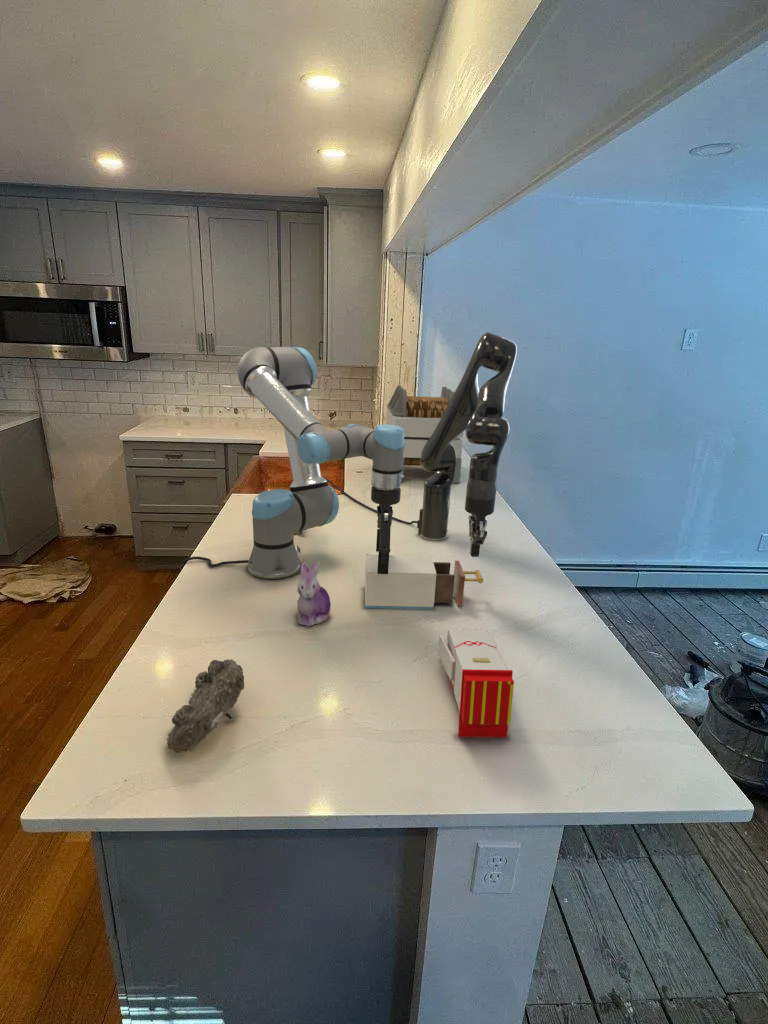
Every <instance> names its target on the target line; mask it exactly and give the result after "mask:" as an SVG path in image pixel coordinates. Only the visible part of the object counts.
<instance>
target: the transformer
mask: <svg viewBox="0 0 768 1024" xmlns="http://www.w3.org/2000/svg"><path fill="white" fill-rule="evenodd" d="M454 392H455V391H453V390H452V389H451V388H447V386H442V387H441V392H440V393H441V394H440V396H415V395H414V396H413V395H412V396H411V395H407V394H408V393H407V390H406V389H404V388H403V387H402V385H399V384H398V385H397V386H396V388H395V390H394V392H393V394H392V395H391V398H390V400H389V402H388V404H387V405H386V413H385V414H386V415H385V424H389V425H396V426H400V427H401V428H402V429H403V430H404V444H405V445H404V451H403V463H402V474H403V475H404V469H405V466H406V467H407V466H411V467H412V466H413V467H415V466H416V467H417V466H418V467H422V466H421V462H420V457H421V452H422V450H423V448H424V446H425V444H426V443H427V441H428V440H429V438H430V437H431V435H432V434H433V432H434V431H435V429H436V427H437V425H438V424H439V422H440V420H441V418H442V416H443V414H444V412H445V410H446V408H447V406H448V404H449V402H450V400H451V398H452V396H453V394H454ZM464 432H465V431H463V432H462V433H461V434H460V435H458V436H457V437H456V438H455V439H453V440H452V441H451V442H450V443H451V444H452V445H453V446H454V448H455V450H456V467H455V474H454V481H453V484H455V483H456V484H459V483H461V472H462V461H463V460H462V453H463V442H464V441H463V440H462V439H463V438H464ZM402 474H401V475H402ZM402 482H403V478H401V483H402Z"/></svg>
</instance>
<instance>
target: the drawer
mask: <svg viewBox="0 0 768 1024" xmlns="http://www.w3.org/2000/svg"><path fill="white" fill-rule="evenodd" d="M433 563H434V567H435V570H436V586H435V598H434V603H440V604H441V603H446V604H452V603H453V599H454V598H455V601H456V605H457V606H460V607H462V606H463V601H464V591H465V583H466V582H477V583H479V584H483V583H484V578H483V575H482V573H481V571H480V569H475V570H474V571H472V570H464V569H463V567H462V565H461V562H460V560H454V564H453V565H454V566H453V574H451V562H449V561H447V562H446V561H444V562H443V561H433ZM466 575H475V578H474V577H473V578H470V577H469V578H468V577H466Z"/></svg>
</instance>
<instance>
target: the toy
mask: <svg viewBox="0 0 768 1024" xmlns="http://www.w3.org/2000/svg"><path fill="white" fill-rule="evenodd" d="M446 640H447V643H446V641H445V639H444V636H443V635H442V634H439V637H438V646H437V656H438V657H439V659H440V661H441V663H442V666H443V668H444V670H445V672H446V674H447V677H448V679H449V681H450V684H451V687H452V690H453V693H454V697H455V701H456V705H457V708H458V711H459V714H458V715H459V716H458V730H457V731H458V732H457V737H458V738H508V731H509V726H510V725H511V717H512V707H513V697H514V696H513V695H514V684H515V680H514V679H513V673H514V671H513V670H512V669H508V667H507V665H506V662H505V661H504V659H503V658H502V655H501V653H500V651H499V649H498V647H497V643H496V639H495V637H494V635H493V634H491V632H490V631H489V629H467V628H466V629H465V628H463V629H461V628H460V629H459V628H448V630H447V639H446Z"/></svg>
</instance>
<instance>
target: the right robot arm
mask: <svg viewBox="0 0 768 1024" xmlns="http://www.w3.org/2000/svg"><path fill="white" fill-rule="evenodd" d="M517 353H518V347H517V344H516V342H514V341H512V340H510V339H508V338H505V337H502V336H500V335H497V334H496V333H492V332H489V331H488V332H484V333H483V334H482V335H481V336H480V338H479V339H478V341H477V344H476V345H475V347H474V350H473V352H472V355H471V356H470V359H469V361H468V364H467V366H466V369H465V371H464V373H463V375H462V377H461V379H460V382H459V383H458V385H457V386H456V389H455V391H454V394H453V396H452V398H451V400H450V402H449V404H448V406H447V408H446V410H445V412H444V414H443V416H442V418H441V420H440V422H439V424H438V425H437V427H436V429H435V431H434V432H433V434H432V435H431V437H430V438H429V440H428V441H427V443H426V444H425V446H424V448H423V450H422V452H421V457H420V462H421V466H420V467H422V469H423V470H424V471H426V472H432V473H433V472H434V473H433V474H432V475H431V476H429V477H428V478H426V479H425V480H424V482H423V493H422V496H423V497H422V506H421V508H420V509H419V516H418V520H412V521H411V522H410V521H409V522H408V521H406V520H402V519H399V518H397V517H394V516H392V520H394V521H397V522H400V523H402V524H405V525H413V524H416V528H417V529H418V530H417V535H418V536H420V538H421V539H424V540H426V541H432V542H440V541H444V540H446V539H447V538H448V532H449V529H448V525H449V517H450V516H449V514H450V504H451V494H452V493H451V491H452V486H453V484H454V483H453V481H454V474H455V467H456V450H455V448H454V446H453V445H452V444H451V443H450V442H451V441H452V440H453V439H455V438H456V437H457V436H458V435H460V434H461V433H462V432H463V431H464V432H465V438H466V439H467V441H468V442H469V443H470V444H471V445H472V444H473V445H479V446H491V449H490V450H488V451H485V452H478V453H473V454H472V456H471V457H470V460H469V470H468V479H467V484H466V491H465V501H464V511H465V512H466V513H468V514H470V515H468V531H469V532H468V536H469V537H470V538H469V540H470V549H469V555H470V556H471V558H479V557H480V551H481V546H483V545H484V543H485V540H486V538H487V536H488V531H487V530H486V528H487V526H488V520H487V519H486V517H487V516H491V515H492V514H494V512H495V505H496V495H497V487H498V486H497V480H498V479H497V478H498V471H499V470H498V468H499V463H500V459H501V456H502V452H503V450H504V447H505V445H506V443H507V441H508V438H509V435H510V431H511V428H510V424H509V421H508V420H507V419H506V418H504V417H503V415H504V413H505V405H506V394H507V390H508V386H509V383H510V379H511V377H512V373H513V369H514V366H515V363H516V358H517ZM481 367H482V368H485V369H488V370H490V371H493V372H496V373H497V374H495V375H494V376H493V377H491V378H489V379H488V380H486V381H485V382H484V383H483V384H482V385H481V387H480V388H479V380H478V379H479V370H480V368H481ZM464 432H463V433H464ZM321 476H322V477H323V478H325V479H326V480H327V482H328V484H330V485H331V486H332V487H333V488H336V489H337V490H338V491H340V492H341V493H342V494H343V495H345V496H346V497H348V498H349V499H351V501H354V502H355V503H357V504H359V505H360V506H362V507H364V508H365V509H368V510H370V511H371V512H372V511H373V512H374V513H377V509H375V508H373V507H370V506H368V505H366V504H364V503H362V502H361V501H360V500H357V499H356V498H354V497H353V496H352V495H350V494H348V493H347V492H346V491H344V490H343V489H341V488H340V487H338V486H337V485H336V484H334V483H333V482H332V481H330V480H329V479H328V478H326V477H325V476H323V475H321Z"/></svg>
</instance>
